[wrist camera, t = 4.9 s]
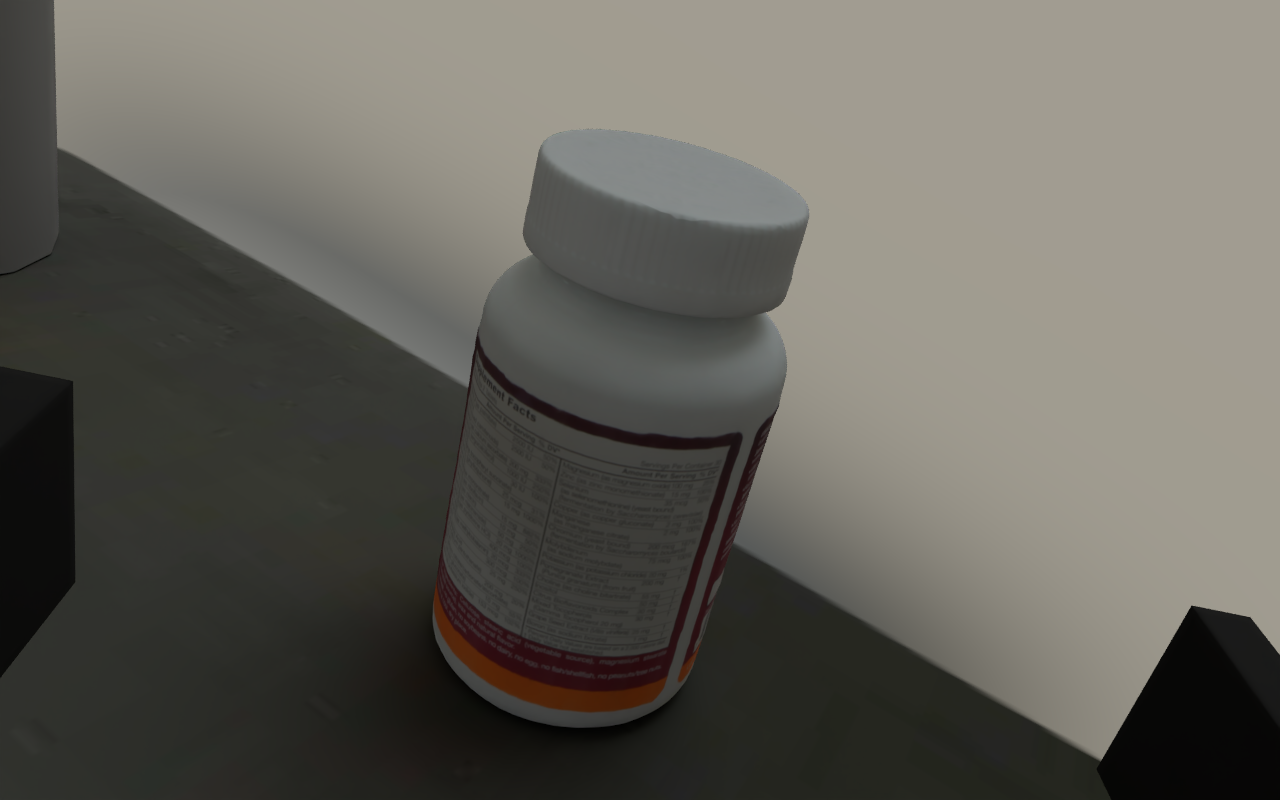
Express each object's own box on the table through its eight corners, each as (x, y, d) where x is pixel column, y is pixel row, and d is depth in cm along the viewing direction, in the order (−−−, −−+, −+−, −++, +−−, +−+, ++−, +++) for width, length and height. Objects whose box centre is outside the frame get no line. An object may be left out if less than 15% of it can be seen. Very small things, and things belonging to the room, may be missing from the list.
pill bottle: (569, 533, 29) (668, 116, 24) (742, 671, 25) (901, 219, 20) (372, 609, 24) (441, 118, 19) (549, 788, 21) (689, 250, 16)
